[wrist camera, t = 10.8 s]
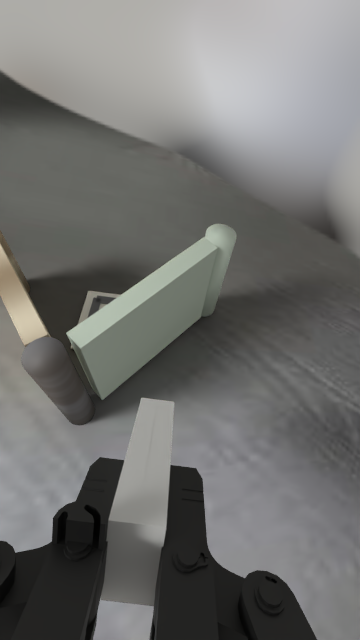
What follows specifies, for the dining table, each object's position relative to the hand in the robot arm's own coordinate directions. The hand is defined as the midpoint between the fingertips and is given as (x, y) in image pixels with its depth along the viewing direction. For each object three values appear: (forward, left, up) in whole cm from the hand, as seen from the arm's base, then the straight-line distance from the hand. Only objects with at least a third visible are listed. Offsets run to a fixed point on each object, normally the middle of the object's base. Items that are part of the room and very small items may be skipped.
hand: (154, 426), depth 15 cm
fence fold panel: (-8, -1, -8) cm, 12 cm away
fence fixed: (-7, -10, -9) cm, 15 cm away
